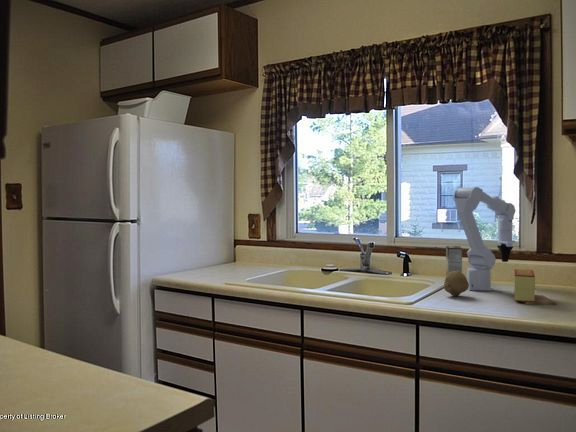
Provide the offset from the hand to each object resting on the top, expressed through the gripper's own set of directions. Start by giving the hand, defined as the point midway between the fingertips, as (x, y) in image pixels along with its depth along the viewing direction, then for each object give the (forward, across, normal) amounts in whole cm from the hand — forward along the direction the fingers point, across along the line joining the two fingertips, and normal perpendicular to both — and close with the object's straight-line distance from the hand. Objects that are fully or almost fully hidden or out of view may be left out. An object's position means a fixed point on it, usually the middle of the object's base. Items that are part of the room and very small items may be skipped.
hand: (504, 261), depth 220 cm
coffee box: (+11, +8, +20) cm, 24 cm away
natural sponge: (+11, -26, +25) cm, 38 cm away
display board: (+10, -32, -2) cm, 34 cm away
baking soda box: (+5, -23, -1) cm, 23 cm away
